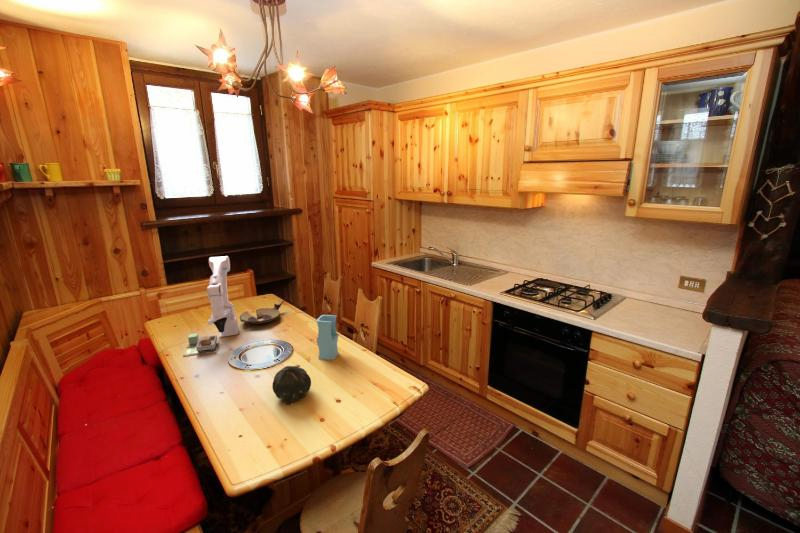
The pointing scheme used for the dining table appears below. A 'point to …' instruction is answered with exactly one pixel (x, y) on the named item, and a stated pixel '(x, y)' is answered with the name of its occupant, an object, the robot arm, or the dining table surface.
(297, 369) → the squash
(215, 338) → the grey shallow tray
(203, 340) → the copper block
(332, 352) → the vase
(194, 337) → the green block
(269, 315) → the broken bowl
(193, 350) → the rails
